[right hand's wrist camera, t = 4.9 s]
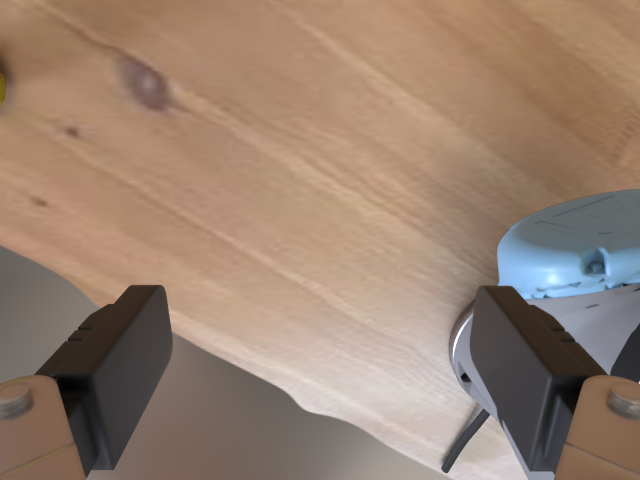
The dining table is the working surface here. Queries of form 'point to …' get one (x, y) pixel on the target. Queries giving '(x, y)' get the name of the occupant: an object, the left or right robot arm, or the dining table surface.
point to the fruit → (2, 88)
